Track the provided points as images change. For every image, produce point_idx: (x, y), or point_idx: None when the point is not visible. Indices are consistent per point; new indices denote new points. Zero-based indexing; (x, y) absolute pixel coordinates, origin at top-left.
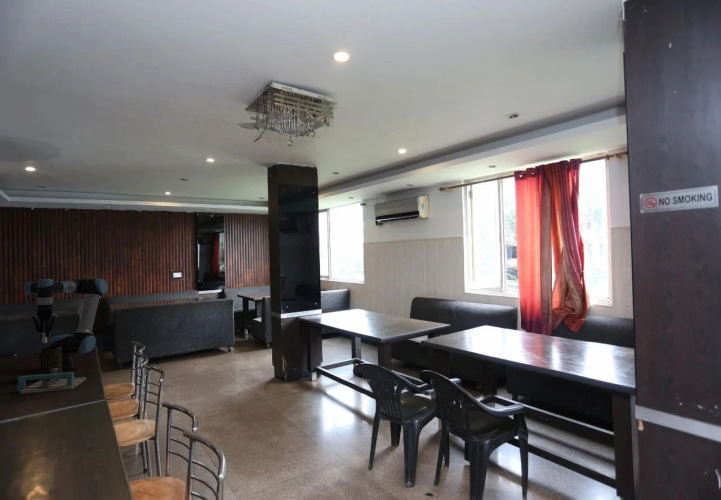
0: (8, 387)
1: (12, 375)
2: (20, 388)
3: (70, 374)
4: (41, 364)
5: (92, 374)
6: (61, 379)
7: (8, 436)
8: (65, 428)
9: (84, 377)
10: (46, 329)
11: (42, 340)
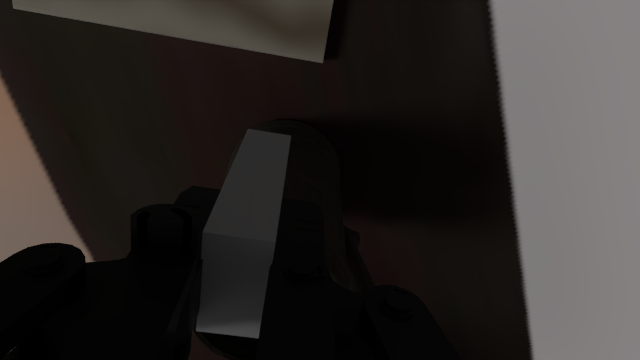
0: (485, 40)
1: (503, 321)
2: None
3: None
4: (355, 258)
5: (49, 144)
6: (177, 22)
7: None
8: None
9: (21, 1)
10: (137, 293)
11: (281, 153)
